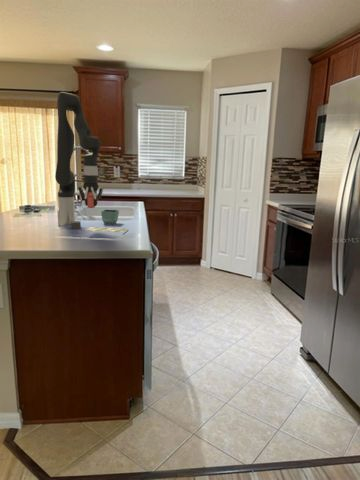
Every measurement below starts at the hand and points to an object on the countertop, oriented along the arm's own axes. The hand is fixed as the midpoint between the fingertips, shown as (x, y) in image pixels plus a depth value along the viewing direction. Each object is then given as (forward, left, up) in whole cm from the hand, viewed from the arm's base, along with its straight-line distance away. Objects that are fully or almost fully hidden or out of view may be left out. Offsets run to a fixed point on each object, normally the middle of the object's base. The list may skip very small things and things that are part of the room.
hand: (91, 205), depth 195 cm
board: (+8, 0, -14) cm, 17 cm away
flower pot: (+5, +20, -15) cm, 25 cm away
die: (-9, 0, -15) cm, 17 cm away
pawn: (0, 0, -1) cm, 1 cm away
